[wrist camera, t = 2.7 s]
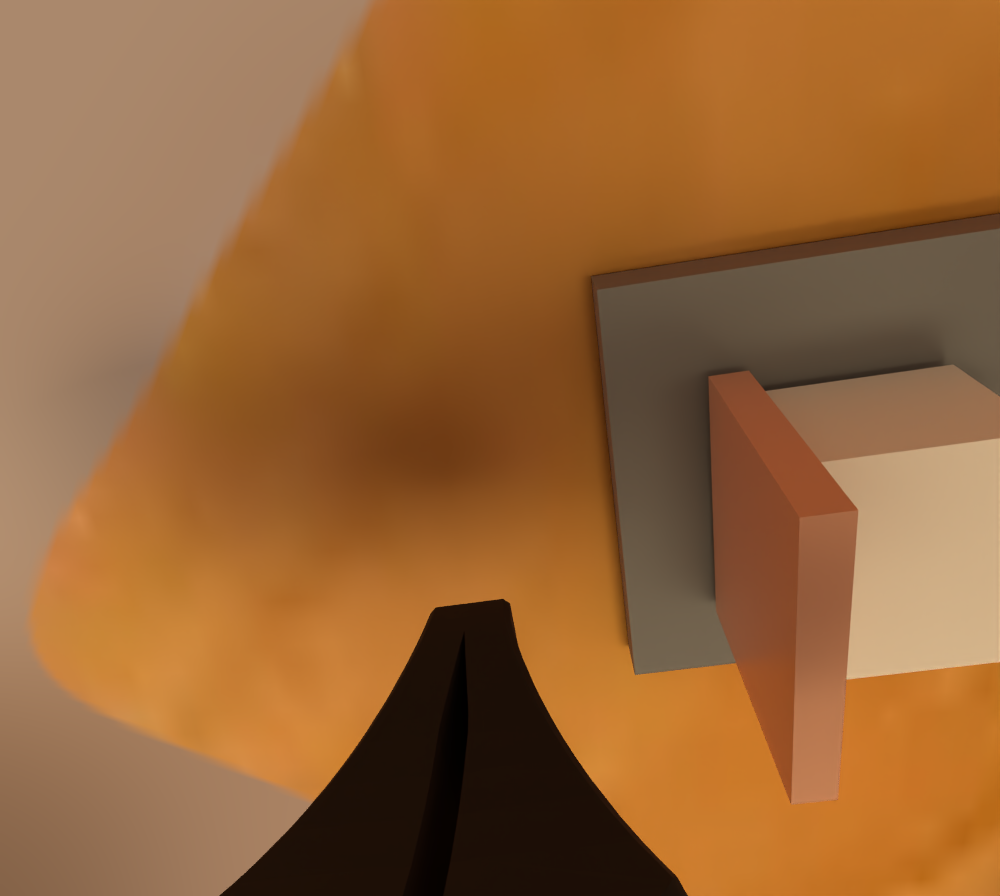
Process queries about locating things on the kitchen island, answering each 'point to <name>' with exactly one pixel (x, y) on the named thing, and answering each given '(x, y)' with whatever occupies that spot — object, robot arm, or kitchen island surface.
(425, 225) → the kitchen island surface
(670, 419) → the board
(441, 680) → the robot arm
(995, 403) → the cream and red block
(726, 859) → the kitchen island surface
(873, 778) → the kitchen island surface
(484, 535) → the kitchen island surface
